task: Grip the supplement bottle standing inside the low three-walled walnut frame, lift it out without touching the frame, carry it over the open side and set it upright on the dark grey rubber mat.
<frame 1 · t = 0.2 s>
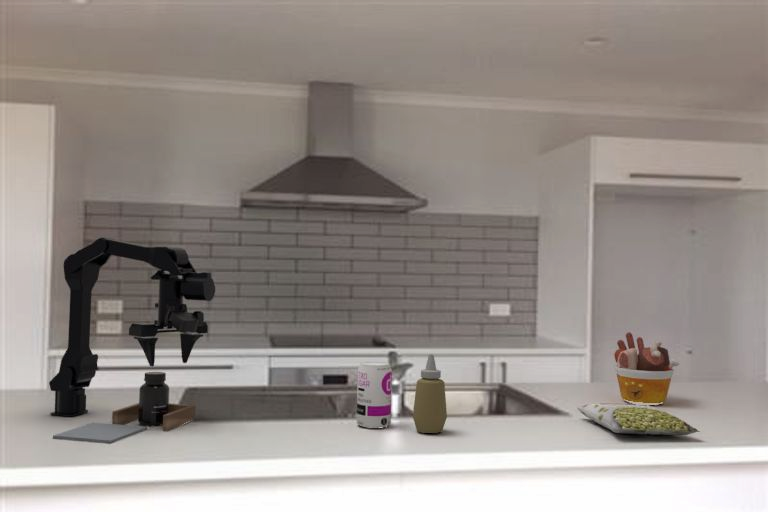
hand: (168, 364, 176), 14 cm above the counter, fingers open, 9 cm apart
squeeze bottle: (429, 432, 172), on the counter
supplement can: (373, 426, 177), on the counter
walnut frame: (153, 423, 174), on the counter
supplement bottle: (153, 424, 174), on the counter
grey mat: (101, 433, 163), on the counter
bucket of meat: (642, 402, 218), on the counter
frozen beans: (633, 431, 179), on the counter
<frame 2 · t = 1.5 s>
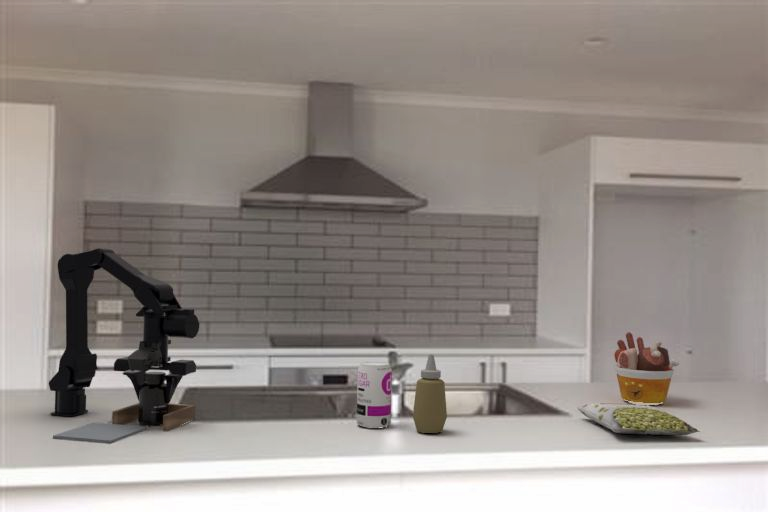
hand: (154, 402, 174), 5 cm above the counter, fingers closed on supplement bottle, 7 cm apart
supplement bottle: (153, 424, 174), on the counter, touching gripper
everything else where it was.
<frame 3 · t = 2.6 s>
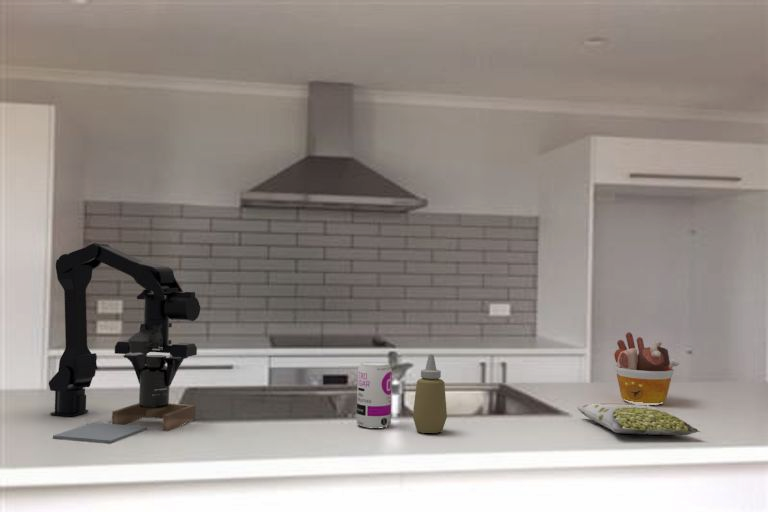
hand: (154, 385, 174), 9 cm above the counter, fingers closed on supplement bottle, 7 cm apart
supplement bottle: (154, 407, 174), point 4 cm above the counter, touching gripper
everything else where it was.
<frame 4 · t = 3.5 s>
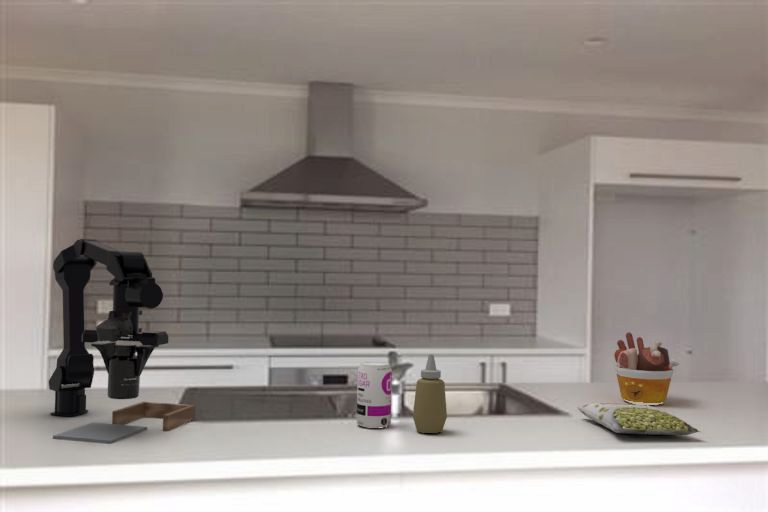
hand: (124, 374, 167), 12 cm above the counter, fingers closed on supplement bottle, 7 cm apart
supplement bottle: (123, 398, 167), point 7 cm above the counter, touching gripper
everything else where it was.
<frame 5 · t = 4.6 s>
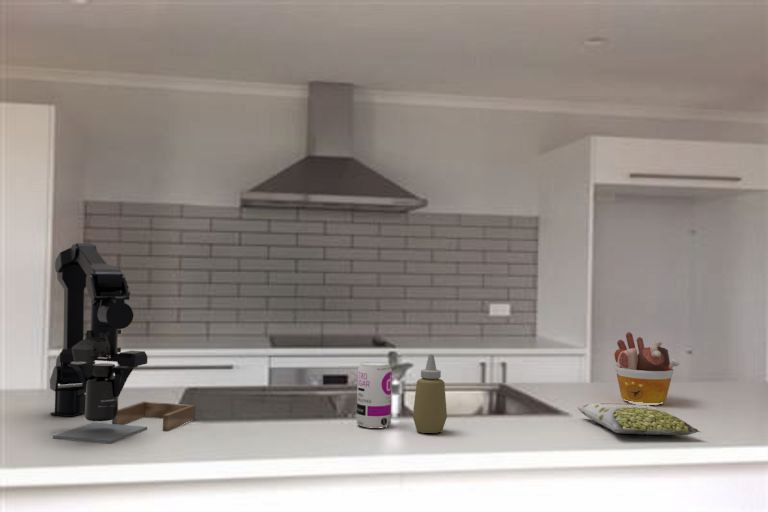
hand: (102, 395, 163), 8 cm above the counter, fingers closed on supplement bottle, 7 cm apart
supplement bottle: (101, 419, 163), point 3 cm above the counter, touching gripper
everything else where it was.
when the fingers open (7 cm above the counter, at t = 5.4 s): supplement bottle stays where it is, resting on grey mat.
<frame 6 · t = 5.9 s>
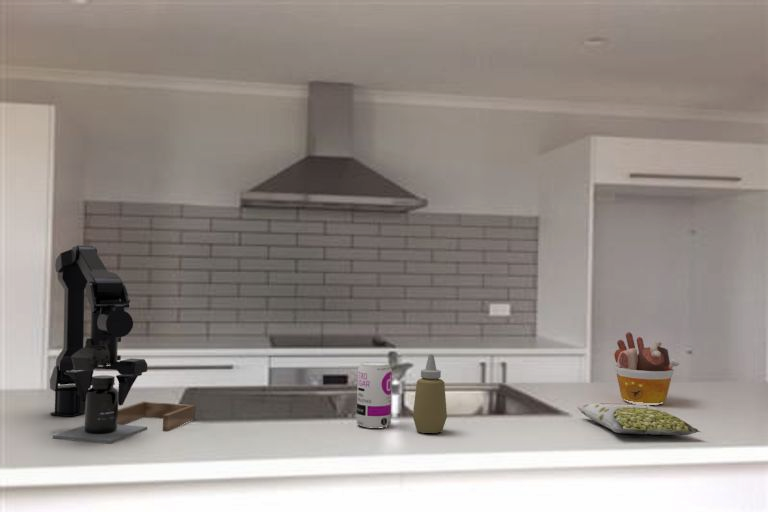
hand: (102, 403, 163), 7 cm above the counter, fingers open, 9 cm apart
supplement bottle: (101, 431, 163), resting on grey mat
everything else where it was.
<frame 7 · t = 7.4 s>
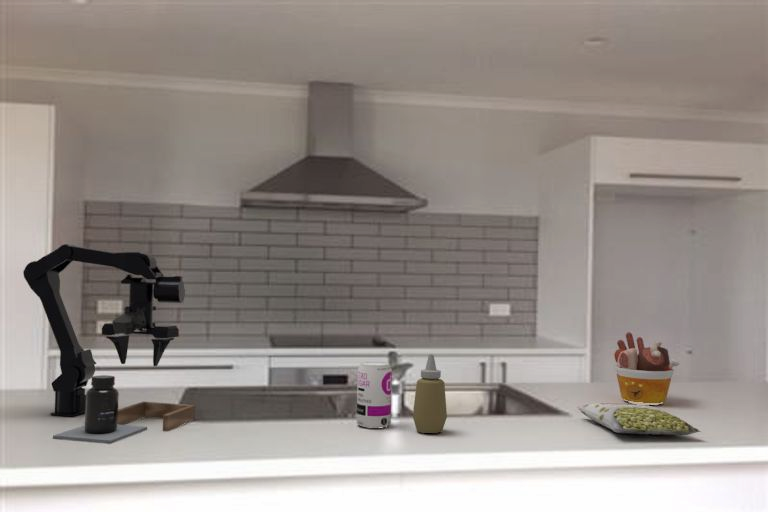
hand: (139, 365, 183), 12 cm above the counter, fingers open, 9 cm apart
nothing on the counter moved.
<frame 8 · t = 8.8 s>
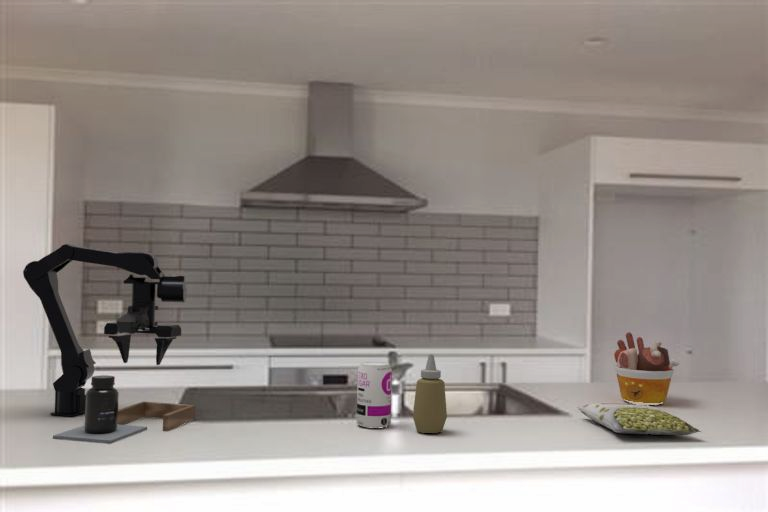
hand: (141, 363, 185), 12 cm above the counter, fingers open, 9 cm apart
nothing on the counter moved.
at the end: supplement bottle inside the target area on the grey mat (0.1 cm from its centre), point 0.4 cm above the grey mat's base; supplement bottle tilted 0°; the gripper is holding nothing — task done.
